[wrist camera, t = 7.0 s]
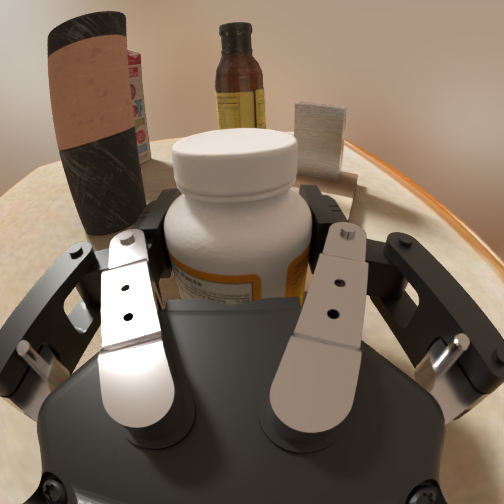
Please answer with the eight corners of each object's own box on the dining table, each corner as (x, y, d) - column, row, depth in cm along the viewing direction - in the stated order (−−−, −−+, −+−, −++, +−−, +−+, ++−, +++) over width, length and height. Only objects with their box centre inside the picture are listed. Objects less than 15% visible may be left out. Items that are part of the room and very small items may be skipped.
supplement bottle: (266, 286, 17) (268, 120, 11) (316, 350, 13) (358, 150, 7) (182, 314, 15) (142, 138, 9) (215, 394, 11) (161, 179, 5)
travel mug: (162, 212, 25) (140, 7, 13) (92, 247, 21) (51, 20, 9) (132, 194, 29) (111, 31, 17) (75, 220, 25) (43, 46, 13)
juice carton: (99, 172, 38) (82, 49, 25) (124, 159, 43) (111, 46, 30) (126, 172, 37) (110, 35, 23) (151, 158, 42) (139, 36, 29)
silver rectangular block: (337, 182, 27) (343, 109, 22) (292, 174, 29) (294, 103, 24) (340, 173, 29) (346, 107, 25) (299, 166, 31) (301, 102, 26)
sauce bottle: (250, 154, 40) (247, 30, 28) (275, 164, 35) (274, 23, 24) (211, 163, 37) (204, 28, 25) (233, 174, 33) (227, 18, 21)
